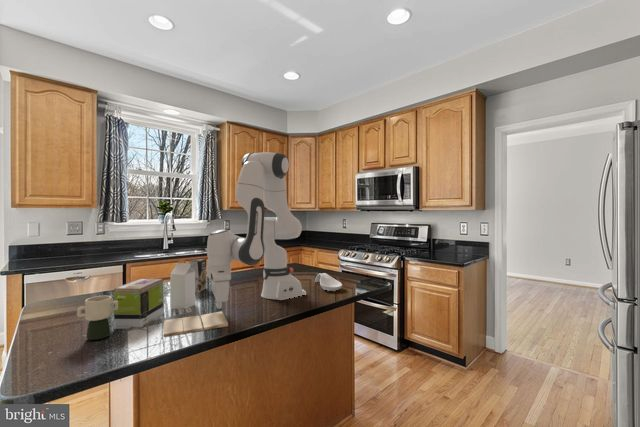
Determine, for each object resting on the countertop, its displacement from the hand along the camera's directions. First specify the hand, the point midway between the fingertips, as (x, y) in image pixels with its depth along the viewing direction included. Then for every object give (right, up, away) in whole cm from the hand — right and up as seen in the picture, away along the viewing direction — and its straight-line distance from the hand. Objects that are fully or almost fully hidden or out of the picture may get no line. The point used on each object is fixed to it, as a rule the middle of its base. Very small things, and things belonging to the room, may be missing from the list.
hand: (218, 307), depth 116 cm
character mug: (-33, -5, -18) cm, 38 cm away
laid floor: (-10, -4, -9) cm, 14 cm away
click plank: (0, -4, -5) cm, 6 cm away
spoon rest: (+43, -5, +50) cm, 66 cm away
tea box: (-28, -5, -3) cm, 29 cm away
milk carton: (-20, -5, +14) cm, 25 cm away
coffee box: (-25, -4, +42) cm, 49 cm away
